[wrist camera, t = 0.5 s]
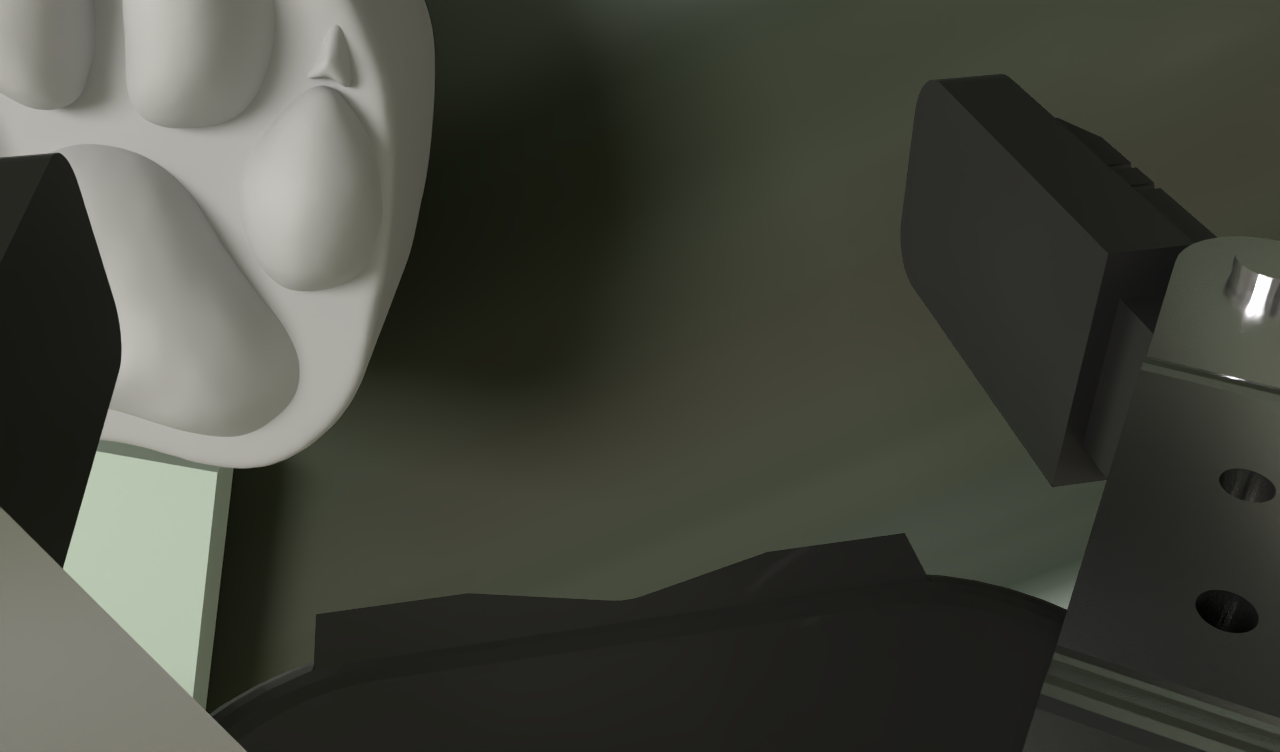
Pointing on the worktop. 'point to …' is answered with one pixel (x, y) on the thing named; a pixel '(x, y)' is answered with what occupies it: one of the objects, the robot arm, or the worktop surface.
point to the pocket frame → (155, 553)
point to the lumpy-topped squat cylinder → (233, 197)
